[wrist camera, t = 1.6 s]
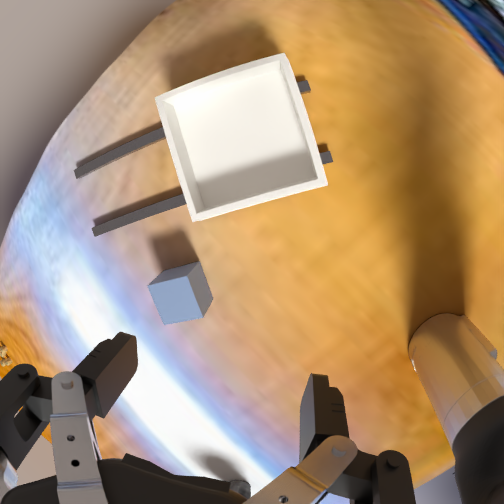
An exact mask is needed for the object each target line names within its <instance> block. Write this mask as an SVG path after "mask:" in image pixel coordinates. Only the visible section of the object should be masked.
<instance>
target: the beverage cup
mask: <svg viewBox="0 0 504 504" xmlns="http://www.w3.org/2000/svg"><path fill="white" fill-rule="evenodd" d="M250 488H251V486H250V484H249V483H247V482H244V481H239V480H234V481H231V484H230V489H231V490H233V491H235V492H237V493H239V494H241V495H243V496H244V497H246V498H247V499H249V498H250V497H251V491H250Z"/></svg>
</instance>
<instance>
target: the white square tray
mask: <svg viewBox="0 0 504 504" xmlns="http://www.w3.org/2000/svg"><path fill="white" fill-rule="evenodd" d="M155 101H156V104H157V108H158V111H159V115H160V118H161V122H162V125H163V129H164V132H165V135H166V139H167V142H168V146H169V149H170V152H171V156H172V159H173V162H174V165H175V169H176V172H177V175H178V178H179V181H180V185H181V188H182V191H183V194H184V197H185V200H186V203H187V206H188V209H189V213H190V216H191V219H192V222H194V221H197V220H199V221H201V220H204V219H208V218H211V217H214V216H218V215H221V214H224V213H228V212H231V211H235V210H238V209H242V208H245V207H249V206H252V205H256V204H259V203H263V202H266V201H270V200H274V199H277V198H281V197H285V196H288V195H292V194H296V193H300V192H303V191H307V190H311V189H315V188H319V187H323V186H326V185H328V183H327V179H326V175H325V172H324V168H323V165H322V161H321V158H320V154H319V151H318V147H317V144H316V141H315V137H314V134H313V131H312V127H311V124H310V121H309V118H308V115H307V112H306V109H305V106H304V103H303V100H302V97H301V94H300V91H299V88H298V85H297V82H296V79H295V76H294V74H293V71H292V68H291V65H290V63H289V60H288V58H286V55H285V53H281V54H277V55H273V56H270V57H266V58H262V59H259V60H255V61H252V62H248V63H245V64H242V65H239V66H236V67H232V68H229V69H226V70H223V71H220V72H218V73H215V74H212V75H209V76H206V77H204V78H201V79H198V80H196V81H193V82H190V83H188V84H185V85H183V86H180V87H178V88H176V89H173V90H171V91H168V92H166V93H164V94H161V95H159V96H157V97H155Z"/></svg>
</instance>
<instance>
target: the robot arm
mask: <svg viewBox="0 0 504 504" xmlns="http://www.w3.org/2000/svg"><path fill="white" fill-rule="evenodd" d="M408 353H409V358H410V360H411V362H412V365H413V367H414V369H415V371H416V372H417V374H418V377H419V379H420V381H421V383H422V385H423V387H424V389H425V391H426V393H427V395H428V397H429V399H430V401H431V404H432V406H433V408H434V410H435V412H436V414H437V417H438V419H439V421H440V423H441V426H442V428H443V430H444V432H445V435H446V437H447V439H448V442H449V444H450V446H451V449H452V451H453V454H454V456H455V460H456V461H455V479H456V483H457V486H458V490H459V493H460V497H461V501H462V504H504V369H503V368H502V367H501V366H500V364H499V363H498V362H497V361H496V358H497V350H496V348H495V347H494V346H493V345H492V344H491V343H490V342H489V340H488V339H487V338H486V337H485V336H484V335H483V334H482V333H481V332H480V331H479V329H478V328H477V327H476V326H475V325H474V324H473V323H472V322H471V321H470V320H469V319H468V318H467V317H466V316H465V315H462V316H456V315H454V314H450V313H443V314H439V315H436V316H433V317H432V318H430V319H428V320H427V321H425V322H424V323H423V324H422V325H421V326H420V327H419V328H418V329H417V331H416V332H415V333H414V335H413V337H412V339H411V341H410V344H409V350H408ZM137 366H138V357H137V341H136V337H135V336H133V335H130V334H127V333H123V332H119V333H118V334H117V335H116V336H115V337H114V338H113V339H112V340H111V339H107V340H105V341H103V342H100V343H99V344H98V345H97V346H96V347H95V348H94V350H92V351H91V352H90V353H89V355H87V356H86V357H85V359H84V360H83V361H82V362H81V363H80V364H79V365H78V366H77V367H76V368H75V369H74V370H73V371H72V372H69V371H66V372H61V373H58V374H57V375H55V376H54V377H53V378H50V377H44V376H39V375H38V373H37V370H36V368H35V367H34V366H32V365H30V364H19V365H17V366H15V367H14V368H13V369H12V370H11V371H10V372H9V373H8V374H7V375H6V376H5V377H4V378H3V379H2V380H1V381H0V504H320V503H321V501H322V500H323V499H324V498H325V497H326V496H327V495H328V494H329V493H332V494H335V495H338V496H342V497H345V498H349V499H350V504H416V501H415V495H414V489H413V484H412V478H411V473H410V468H409V463H408V460H407V458H406V457H405V456H404V455H403V454H401V453H400V452H397V451H394V450H387V451H384V452H382V453H380V454H379V455H378V456H375V455H372V454H368V453H365V452H362V451H360V450H358V449H357V446H356V444H355V443H354V442H353V441H352V440H351V439H350V438H349V432H348V425H347V419H346V413H345V406H344V400H343V395H342V394H341V392H340V391H339V390H338V388H335V387H329V380H328V376H327V375H320V374H312V373H311V374H310V377H309V379H308V383H307V386H306V389H305V391H304V394H303V397H302V401H301V406H300V455H299V464H298V465H297V466H296V467H290V468H288V469H287V470H285V471H284V472H283V473H282V474H281V475H279V476H278V477H277V478H276V479H274V480H273V481H272V482H271V483H269V484H268V485H267V486H265V487H264V488H263V489H262V490H260V491H259V492H258V493H256V494H255V495H254V496H252V497H251V498H249V499H247V498H246V497H244V496H243V495H241V494H239V493H237V492H235V491H233V490H231V489H230V484H231V482H226V481H221V480H216V479H212V478H207V477H198V476H180V475H174V474H171V473H170V472H168V471H166V470H164V469H162V468H160V467H159V466H157V465H155V464H153V463H152V462H150V461H147V460H144V459H141V458H138V457H135V456H133V455H130V454H127V453H126V454H125V456H124V458H123V459H116V458H111V459H102V457H101V454H100V450H99V446H98V442H97V438H96V433H95V429H94V424H93V420H92V419H93V418H94V416H95V415H97V416H99V417H102V418H105V416H106V415H107V413H108V412H109V410H110V409H111V407H112V406H113V404H114V403H115V402H116V400H117V399H118V397H119V396H120V394H121V393H122V391H123V390H124V389H125V387H126V386H127V384H128V383H129V381H130V380H131V378H132V377H133V376H134V374H135V372H136V370H137ZM22 406H23V408H22V409H21V410H20V412H19V413H18V414H17V415H16V417H15V418H14V416H15V414H16V413H17V412H18V410H19V409H20V408H21V407H22ZM49 422H50V426H51V437H52V446H53V455H54V461H55V468H56V475H55V476H51V477H48V478H45V479H41V480H38V481H34V482H31V483H27V484H23V485H19V486H17V484H16V483H17V480H18V475H17V472H16V470H17V469H18V467H19V466H20V464H21V463H22V461H23V460H24V458H25V456H26V455H27V454H28V452H29V451H30V449H31V448H32V447H33V445H34V444H35V442H36V441H37V439H38V438H39V437H40V435H41V434H42V432H43V431H44V429H45V428H46V427H47V425H48V424H49Z"/></svg>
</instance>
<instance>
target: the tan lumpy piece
mask: <svg viewBox="0 0 504 504" xmlns="http://www.w3.org/2000/svg"><path fill="white" fill-rule="evenodd" d="M0 351H1V352H0V356H1V357H3V359H2V360H1V361H0V363H1V365H2V366H5V365H10V364H11V363H12V360H11V359H10V358H9V357H8V358H7V359H5V358H4V356H5V355H6V351H7V347H6V346H5V345H3V346H2V347H1V348H0Z"/></svg>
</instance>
